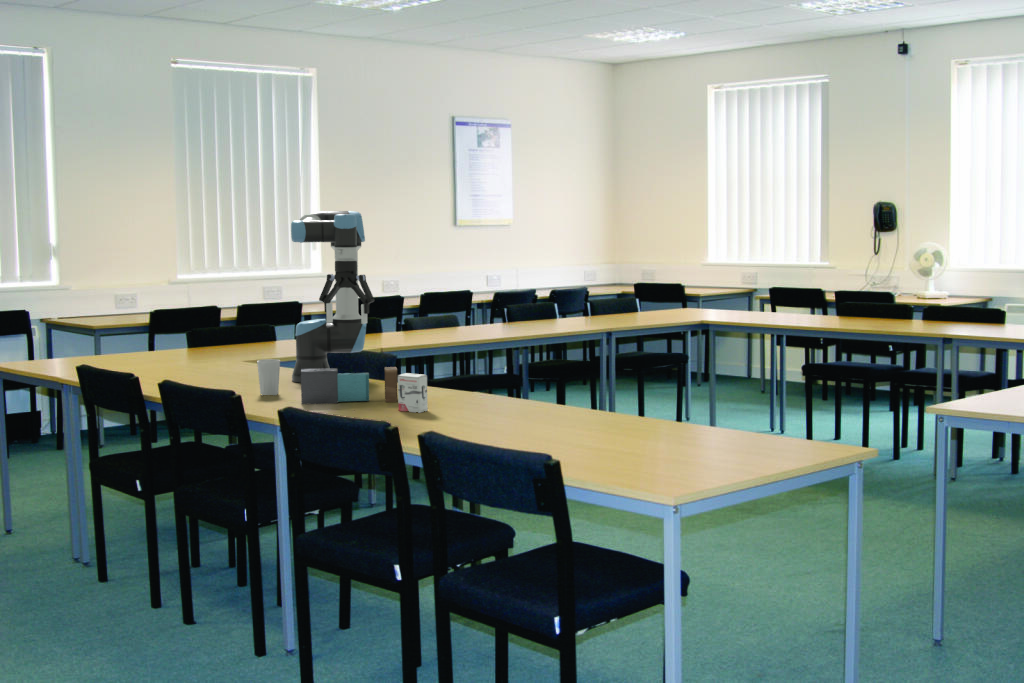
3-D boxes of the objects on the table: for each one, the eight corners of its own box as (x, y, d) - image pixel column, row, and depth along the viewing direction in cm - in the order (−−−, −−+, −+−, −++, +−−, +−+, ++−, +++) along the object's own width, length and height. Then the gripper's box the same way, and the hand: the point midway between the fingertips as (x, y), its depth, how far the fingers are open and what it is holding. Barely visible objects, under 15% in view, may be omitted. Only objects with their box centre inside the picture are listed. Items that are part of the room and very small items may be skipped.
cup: (278, 396, 381) (277, 362, 379) (255, 396, 381) (254, 362, 380) (283, 392, 389) (282, 359, 387) (261, 392, 389) (260, 359, 388)
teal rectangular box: (303, 400, 369) (303, 374, 368) (368, 398, 372) (368, 372, 371) (303, 402, 365) (302, 375, 364) (369, 400, 368) (368, 374, 367)
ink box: (397, 411, 351) (396, 374, 349) (405, 408, 355) (405, 372, 354) (420, 413, 347) (419, 376, 345) (428, 410, 351) (428, 374, 350)
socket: (384, 398, 375) (384, 367, 373) (396, 398, 375) (396, 367, 374) (385, 402, 368) (385, 369, 367) (397, 401, 369) (397, 369, 367)
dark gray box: (302, 400, 370) (301, 368, 369) (337, 400, 372) (337, 368, 371) (301, 404, 364) (300, 371, 362) (337, 403, 365) (337, 370, 364)
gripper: (308, 260, 368) (309, 322, 370) (372, 260, 359) (373, 324, 361) (320, 259, 375) (321, 320, 377) (383, 260, 366) (384, 323, 368)
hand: (346, 322), depth 369 cm, fingers open, 13 cm apart
